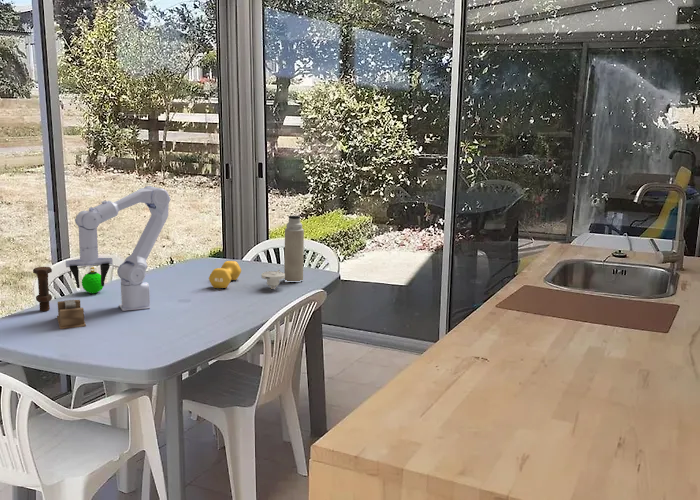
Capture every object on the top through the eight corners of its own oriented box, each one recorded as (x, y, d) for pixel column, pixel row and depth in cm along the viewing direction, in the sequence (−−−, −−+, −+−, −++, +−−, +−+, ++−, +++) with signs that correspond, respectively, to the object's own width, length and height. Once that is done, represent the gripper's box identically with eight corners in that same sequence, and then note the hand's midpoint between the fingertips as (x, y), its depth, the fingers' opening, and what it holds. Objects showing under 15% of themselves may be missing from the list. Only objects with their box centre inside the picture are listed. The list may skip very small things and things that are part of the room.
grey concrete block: (75, 317, 217) (74, 299, 216) (76, 322, 212) (75, 304, 211) (65, 318, 216) (64, 300, 215) (66, 323, 211) (65, 305, 210)
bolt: (45, 313, 222) (43, 270, 220) (32, 312, 223) (30, 269, 221) (56, 308, 228) (54, 266, 225) (43, 307, 229) (41, 265, 226)
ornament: (105, 290, 255) (104, 265, 253) (104, 295, 247) (103, 269, 245) (82, 291, 252) (81, 265, 251) (81, 296, 245) (79, 270, 243)
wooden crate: (81, 315, 222) (80, 299, 221) (85, 326, 210) (85, 309, 209) (57, 317, 218) (56, 301, 217) (60, 329, 206) (59, 311, 205)
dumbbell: (229, 290, 261) (229, 270, 259) (207, 289, 262) (207, 269, 260) (242, 279, 279) (242, 260, 278) (222, 278, 280) (222, 259, 279)
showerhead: (289, 270, 266) (278, 275, 256) (289, 287, 267) (277, 293, 258) (269, 267, 269) (257, 272, 260) (269, 285, 270) (256, 290, 261)
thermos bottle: (291, 277, 284) (292, 213, 279) (306, 280, 280) (307, 215, 275) (280, 281, 278) (281, 215, 272) (295, 284, 273) (296, 217, 268)
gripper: (66, 250, 211) (68, 291, 214) (113, 247, 218) (114, 287, 220) (64, 246, 217) (66, 286, 220) (110, 244, 224) (111, 282, 227)
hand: (90, 286), depth 221 cm, fingers open, 7 cm apart
